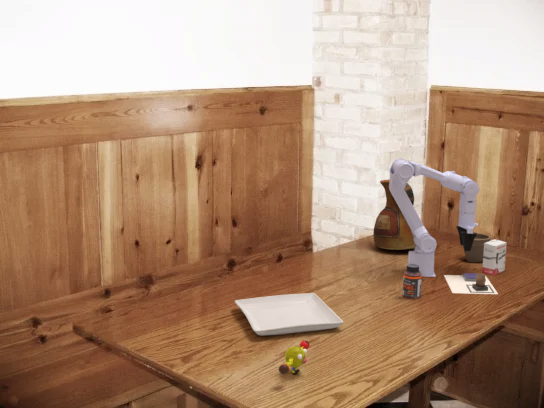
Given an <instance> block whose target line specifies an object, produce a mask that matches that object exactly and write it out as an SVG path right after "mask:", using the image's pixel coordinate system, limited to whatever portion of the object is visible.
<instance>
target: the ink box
mask: <svg viewBox="0 0 544 408" xmlns="http://www.w3.org/2000/svg"><path fill="white" fill-rule="evenodd" d="M506 255H507V242H506V241H503V240H500V239H491V240H490V241H489V242H486V243H484V253H483V261H482V266H481V267H482V268H481V273H483V274H485V275H486V274H487V275H491V276H495V275H498V274H500V273H502V272H504V271H505V270H506V269H505V268H506V258H507V257H506Z"/></svg>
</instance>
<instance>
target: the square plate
mask: <svg viewBox="0 0 544 408" xmlns="http://www.w3.org/2000/svg"><path fill="white" fill-rule="evenodd" d="M234 303H235V305H237V307H238V308H239V310H240V311H241V313H243V315H244V316H245V317H246V319H247V321H248V323H249V324H250V327H251V329H252V330H253V332H254V333H255V334H257V335H258V336H279V335H287V334H288V335H289V334H296V333H305V332H306V333H307V332H316V331H322V330H331V329H336V328H338V327H340V326H342V325H343V324H344V320H343V319H341V317H339V315H338V314H337V313H335V311H334V310H333V309H332V308H330V307H329V305H328V304H326V302H324V300H322V298H320V297H319V296H318V295H317V294H316V293H315V292H306V293H305V292H304V293H303V292H302V293H289V294H288V293H287V294H279V295H269V296H268V295H267V296H260V297H257V296H256V297H251V298H244V299H243V298H242V299H236V300H234Z"/></svg>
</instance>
